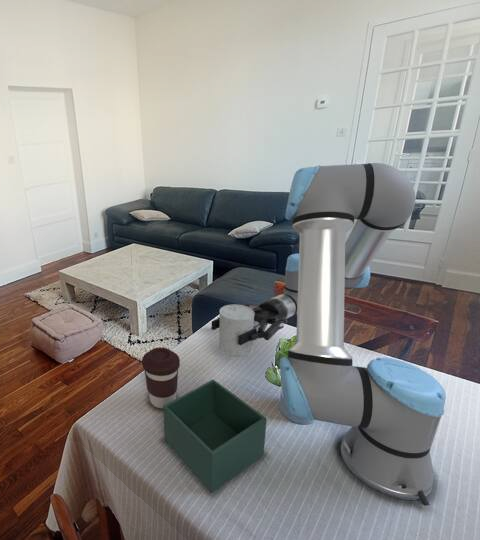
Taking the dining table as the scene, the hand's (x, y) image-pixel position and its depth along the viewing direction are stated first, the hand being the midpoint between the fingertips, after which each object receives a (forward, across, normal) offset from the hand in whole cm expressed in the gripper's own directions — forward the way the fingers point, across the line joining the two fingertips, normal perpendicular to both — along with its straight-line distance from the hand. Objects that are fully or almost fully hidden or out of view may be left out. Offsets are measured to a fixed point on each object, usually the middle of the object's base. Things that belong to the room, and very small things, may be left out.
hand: (225, 332), depth 96 cm
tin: (-24, +15, -14) cm, 32 cm away
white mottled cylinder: (-4, 0, -7) cm, 8 cm away
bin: (+22, -17, -14) cm, 31 cm away
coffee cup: (+22, +2, -14) cm, 26 cm away
